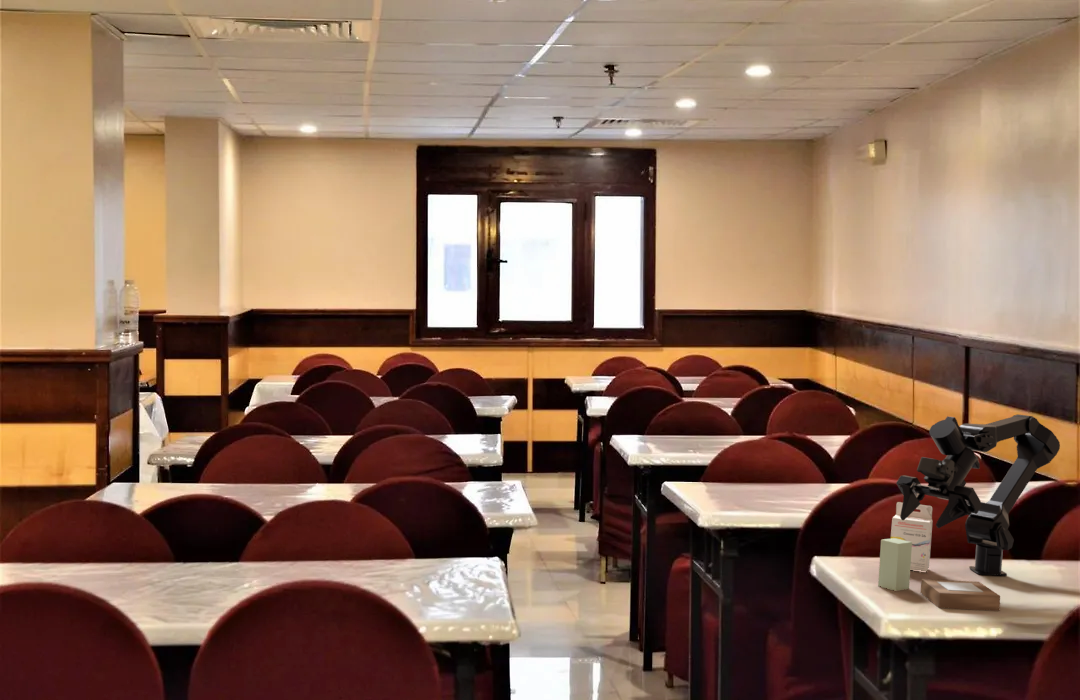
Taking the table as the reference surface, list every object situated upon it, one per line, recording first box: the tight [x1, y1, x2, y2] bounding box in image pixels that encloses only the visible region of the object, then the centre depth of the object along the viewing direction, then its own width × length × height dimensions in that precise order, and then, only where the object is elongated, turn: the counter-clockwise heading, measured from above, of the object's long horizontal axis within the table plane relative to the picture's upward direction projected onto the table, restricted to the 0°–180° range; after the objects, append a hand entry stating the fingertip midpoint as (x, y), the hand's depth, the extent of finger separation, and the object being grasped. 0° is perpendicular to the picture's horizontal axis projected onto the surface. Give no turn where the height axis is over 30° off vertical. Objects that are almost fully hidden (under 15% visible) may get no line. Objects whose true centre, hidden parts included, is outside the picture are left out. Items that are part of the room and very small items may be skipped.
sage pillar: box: [877, 537, 912, 592], centre depth 257 cm, size 4×4×10 cm
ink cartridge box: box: [890, 501, 934, 572], centre depth 276 cm, size 9×5×15 cm, turn 65°
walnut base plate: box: [920, 578, 1001, 612], centre depth 247 cm, size 12×12×3 cm
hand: (919, 522), depth 261 cm, fingers open, 9 cm apart
